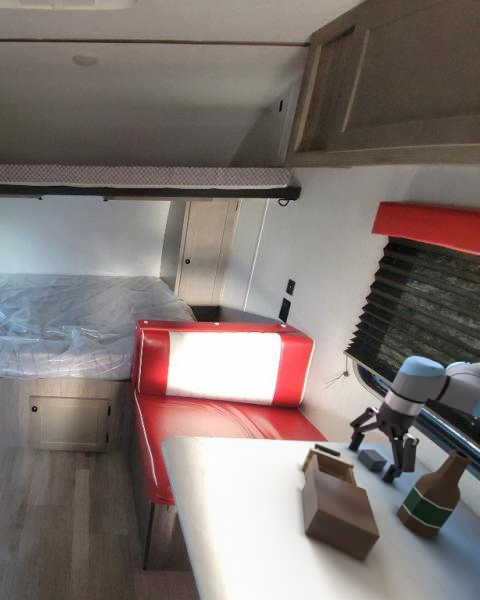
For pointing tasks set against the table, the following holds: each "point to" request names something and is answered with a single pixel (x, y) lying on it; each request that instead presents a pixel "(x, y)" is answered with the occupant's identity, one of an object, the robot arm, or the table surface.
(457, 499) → the beer bottle
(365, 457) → the block
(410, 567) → the table surface
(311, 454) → the drawer
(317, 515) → the cabinet
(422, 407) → the robot arm
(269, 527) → the table surface
